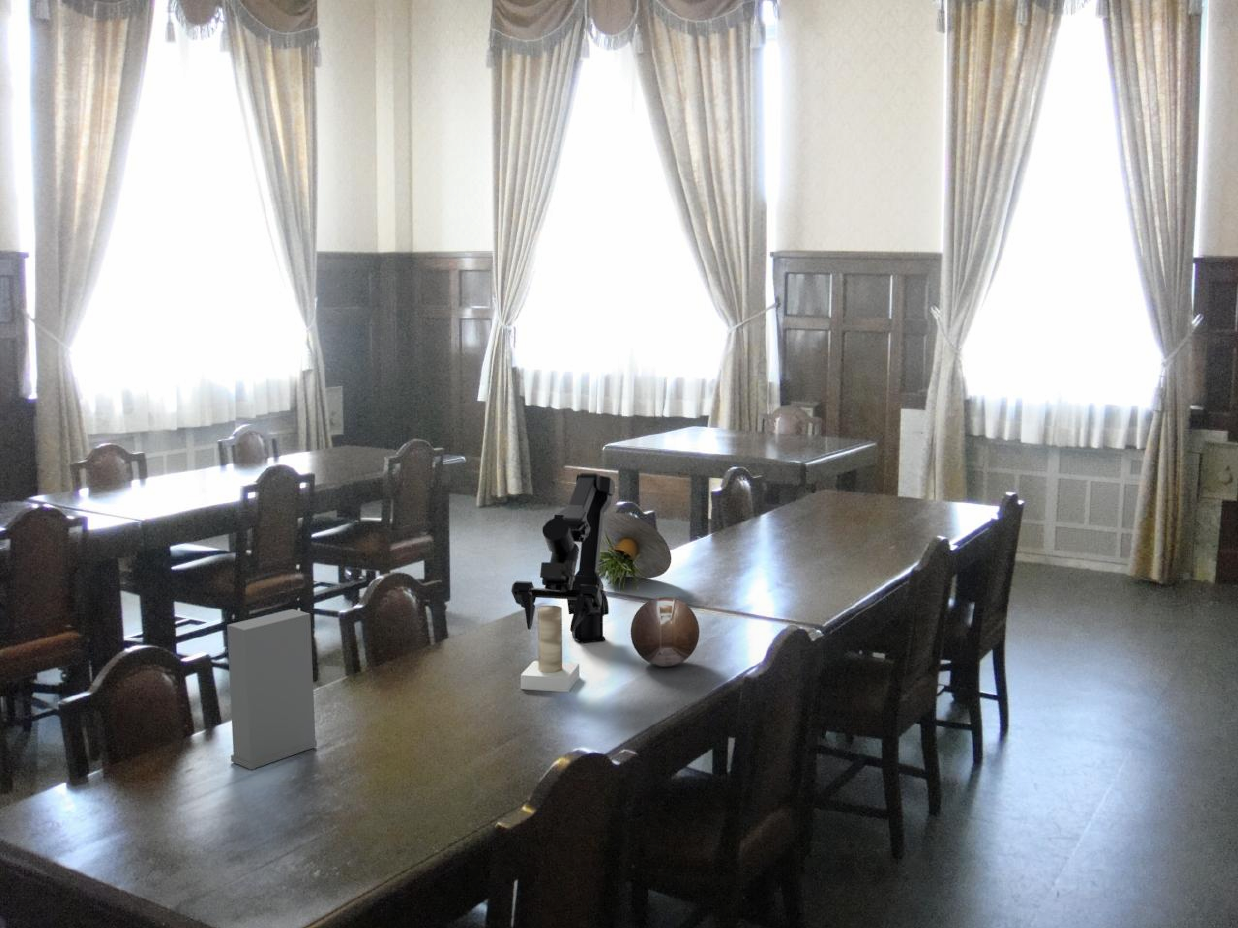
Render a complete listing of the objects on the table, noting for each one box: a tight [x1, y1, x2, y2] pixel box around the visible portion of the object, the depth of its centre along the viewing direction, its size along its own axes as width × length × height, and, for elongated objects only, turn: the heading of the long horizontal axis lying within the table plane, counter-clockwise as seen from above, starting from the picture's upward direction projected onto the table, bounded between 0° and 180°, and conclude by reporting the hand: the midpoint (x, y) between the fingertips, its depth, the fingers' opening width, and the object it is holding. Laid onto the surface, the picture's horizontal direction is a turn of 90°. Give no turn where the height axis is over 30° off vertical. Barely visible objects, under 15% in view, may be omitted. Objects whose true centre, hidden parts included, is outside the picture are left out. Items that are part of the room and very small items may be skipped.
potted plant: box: [598, 512, 672, 592], centre depth 342 cm, size 25×18×25 cm
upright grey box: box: [226, 608, 318, 771], centre depth 219 cm, size 14×6×25 cm, turn 141°
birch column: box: [537, 605, 563, 673], centre depth 259 cm, size 5×5×13 cm
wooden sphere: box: [630, 596, 700, 668], centre depth 271 cm, size 15×15×15 cm
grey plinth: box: [520, 660, 580, 693], centre depth 260 cm, size 10×10×3 cm
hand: (550, 629), depth 258 cm, fingers open, 9 cm apart
